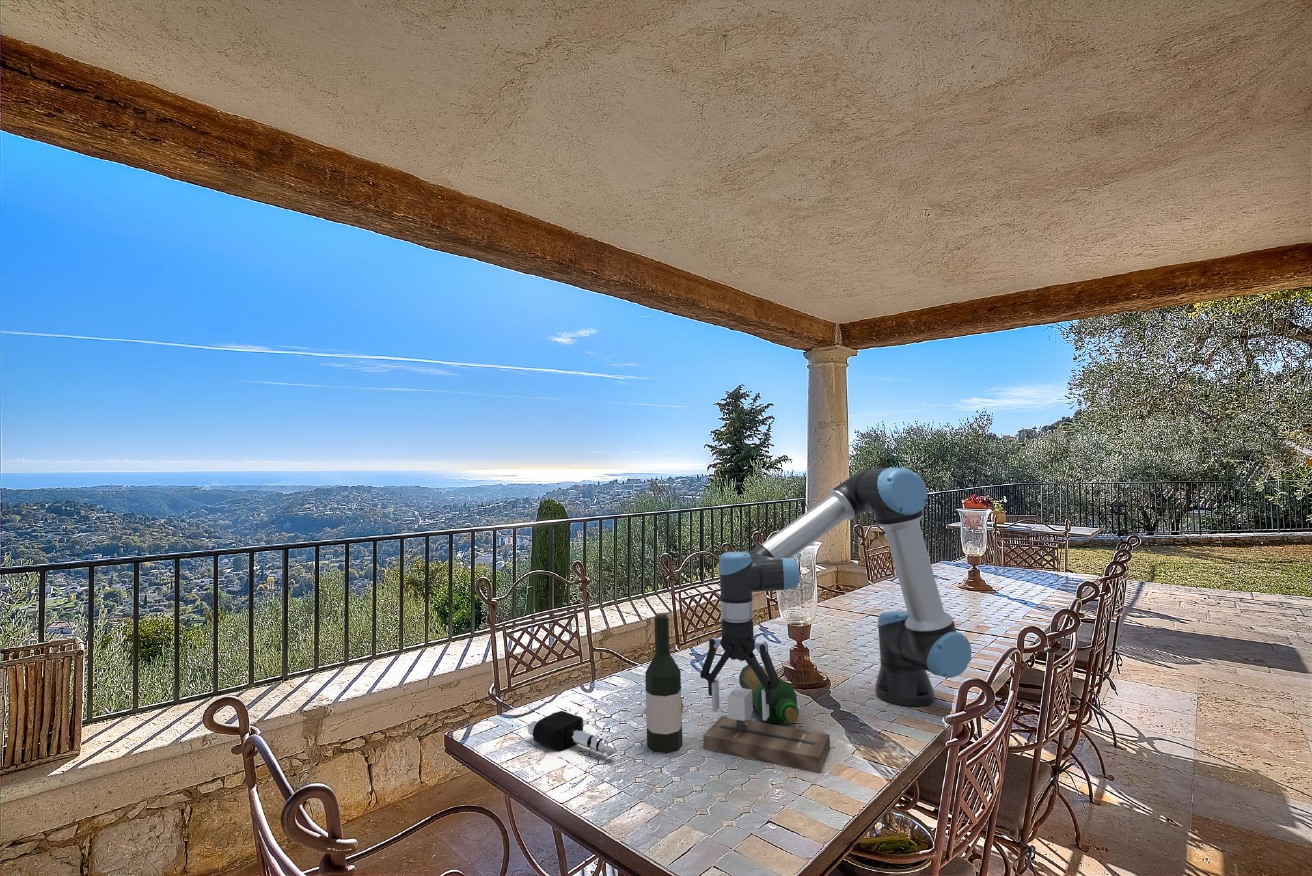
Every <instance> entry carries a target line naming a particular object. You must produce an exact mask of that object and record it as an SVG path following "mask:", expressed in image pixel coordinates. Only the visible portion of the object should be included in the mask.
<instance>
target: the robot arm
mask: <svg viewBox="0 0 1312 876" xmlns="http://www.w3.org/2000/svg"><path fill="white" fill-rule="evenodd" d="M927 500H928V489H927V486H926V484H925V482H924V480H923V479H922V478H921V477H920V475H919V474H918V473H916V472H914V471H913V470H911V469H908V468H903V467H901V468H900V467H884V468H875V469H874V468H873V469H871V468H869V469H864V470H861V471H859V472H857V473H854V474H853V475H851V476H850V477H848V478H847V479H845V480H844V481H842V482H841V483H840V484H838V485H837V486H835V487H834V488H832V489H831V490H830V491H829V492H828V495H827V497H826V498H824V499H823V500H822V501H820V502H819V503H817V504H816V505H815V506H813V507H812V508H810V509H809V510H808V511H806V512H805V513H804V514H802V515H801V516H799V517H798V518H796V519H795V520H793V521H792V522H791V523H789V524H788V525H786V526H785V527H783V528H782V529H780V530H779V531H778V532H776V533H775V534H773V535H772V536H770V538H767V540H765V541H763V542H762V543H761V544H759V545H758V546H756V547H754V548H753V549H752V550H750V551H749V550H748V551H728V552H724V553H722V554H721V555H720V557H719V564H718V565H719V569H718V570H719V571H718V575H719V586H720V589H719V591H720V617H721V619H722V620H721V627H720V628H721V638H717V636H713V637H712V638H710V639H709V641H708V651H707V654H706V658H705V659H704V662H703V666H702V669H701V672H700V675H699V677H700V679H704V680H706V681H707V690H708V691H707V692H708V695H709V696H711V702H712V703H711V704H712V706H711V707H712V713H713V712H714V713H716V712H717V711H718V710H719V709H720V680H719V679H716V678H717V676H718V675H719V673H720V672H721V670H722V669H723V668H724V666H725V665H726V663H727V661H728V660H729V659H730V660H733V661H735V660H738V661H741V662H744V661H745V662H746V664H747V665H748V664H749V665H750V667H751V668H752V670H753V671H754V673H755V674H756V676H757V677H758V679H759V681H760V682H761V684H762V685H763V687H764V688H763V689H762V714H763V717H762V721H768V720H767V719H768V717H769V705H771V703H772V701H773V694H772V689H777V687H778V686H779V685H780V681H779V678H780V677H779V676H778V673H777V670H776V668H775V666H774V664H773V661H772V659H771V656H770V653H769V647H768V646H769V644H768V643H767V641H764V642H762V643H761V642H756V641H755V638H754V637H755V635H754V633H755V632H754V631H755V630H754V620H753V619H752V618H753V615H754V614H753V612H754V611H753V607H754V606H753V593H759V592H772V591H773V592H774V591H783V592H785V591H787V590H793V589H795V588H797V587H798V585H799V584H800V581H801V576H800V575H801V573H800V568H799V565H798V563H797V562H796V560H795V559H793V558H794V557H795V556H796V555H798V554H799V553H800V552H802V551H803V550H804V549H806V548H807V547H808V546H810V545H812V544H813V543H814V542H815V541H817V540H819V539H820V538H821V537H823V536H824V535H825V534H827V533H829V532H830V531H831V530H833V529H834V528H835V527H837V526H838V525H840V524H841V523H843V522H844V521H845V520H847V521H851V520H853V519H854V518H856V517H857V516H860V515H862V514H864V513H870V512H872V513H873V516H874V519H875V520H874V521H875V523H876V525H877V526H879V527H881V528H882V529H884V533H885V536H886V539H887V543H888V547H889V550H890V553H891V558H892V561H893V564H894V568H895V571H896V575H897V579H898V583H899V586H900V589H901V590H900V591H901V593H902V597H903V600H904V604H905V608H906V610H895V611H894V610H893V611H892V610H891V611H886V612H885V611H884V612H882V613H879V615H878V618H877V620H878V621H877V629H878V640H879V641H878V642H879V644H878V645H879V658H880V667H879V671H878V673H877V674H878V675H877V677H876V682H875V685H874V686H875V689H874V690H875V696H877V697H878V698H879V699H881V700H883V702H884V701H885V702H887V703H890V704H894V705H897V706H905V707H923V706H928V705H931V704H933V703H934V702H935V691H934V688H933V685H932V683H931V680H930V678H929V675H928V672H929V673H931V674H933V675H935V676H939V677H942V678H947V679H952V678H956V677H958V676H960V675H961V674H963V673H964V672H965V671H966V669H967V668H968V665H969V664H970V662H971V659H972V646H971V643H970V641H969V639H968V638H967V637H966V636H965V635H964V634H962V632H958V631H957V629H956V626H955V621H954V618H953V616H952V615H950V614H949V613H947V612H945V610H944V607H943V602H942V598H941V595H940V591H939V589H938V585H937V581H936V578H935V575H934V571H933V567H932V562H931V560H930V555H929V553H928V549H927V545H926V541H925V539H924V535H923V531H922V528H921V525H920V522H921V520H922V519H923V517H924V511H923V509H924V508H925V506H926V501H927ZM720 646H721V648H722V649H723V653H722V655H721V657H720V658H719V660H718V662H717V663H716V664H715V666H714V668H713V669H712V671H711V667H712V665H713V662H714V659H715V657H716V653H717V651H718V648H719V647H720ZM755 649H756V650H757V653H758V654H759V655H760V659H761V662H762V663H763V666H762V665H761V664H760V662H759V661H758V659H757V657H756V654H755V653H754V651H755ZM761 666H762V667H764V668H765V669H766V672H767V674H768V676H767V675H766V673H765V672H764V670H763V669H762V667H761ZM710 671H711V672H710ZM768 677H769V678H768ZM778 677H779V678H778Z"/></svg>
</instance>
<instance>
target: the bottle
mask: <svg viewBox="0 0 1312 876" xmlns="http://www.w3.org/2000/svg"><path fill="white" fill-rule="evenodd" d="M761 667H762V669H763V670H764V672H765V673H766V675H767V676H768V674H767V672H766V669H765V667H764V666H763V665H761ZM768 678H769V677H768ZM778 678H779V681H780V685H779V686H778V687H777V689H772V694H773V701H772V703H771V705H769V717H768V719H767V720H766V721H768V722H770V723H771V724H782V723H786V724H794V723H795V722H797V721H798V719H799V718H800V711H799V710H800V709H799V708H798V700H797V699H798V697H797V696H798V695H797V693H796V691H795V690H794V688H793V686H792V685H791V684H790V683H789V682H787V681H786V680H784V679H783V678H781V677H780V676H778ZM738 680H739V686H740V688H744V689H751V690H752V701H753V706H754V707H755V708H756V710H757V712H758V713H759V714H760V715H761V717H762V718H763V714H762V689H763V688H764V687H763V685H762V684H761V682H760V681H759V679H758V677H757V676H756V674H755V673H754V671H753V670H752V668H751V667H750V665H749V664H747V665H745V666H744V667H742V669H741V671H740V673H739V676H738Z"/></svg>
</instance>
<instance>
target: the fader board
mask: <svg viewBox="0 0 1312 876" xmlns="http://www.w3.org/2000/svg"><path fill="white" fill-rule="evenodd" d="M745 726H746V729H745V730H744V731H738V730H737V721H736V719H730V718H728V716H726V715H725V716H724V715H721V716H720V717H719V718H718V719H717V721H716V722H714V723H713V725H712V726H711V727H710V728H709V729H708V730H707V731H706V732H705V733H704V734H703V749H704V750H707V751H708V750H709V751H713V752H718V753H722V754H726V755H731V756H737V757H742V758H746V759H750V760H751V759H752V760H758V761H760V762H764V763H765V762H766V763H771V764H775V765H776V764H777V765H781V766H785V767H791V768H796V769H801V770H804V771H810V772H815V773H821V770H822V768H823V765H824V763H825V760H826V759H827V757H828V754H829V752H830V750H831V739H830V738H831V737H830V734H829V733H823V732H817V731H812V730H806V729H801V728H795V727H788V726H782V725H776V724H773V723H771V724H770V723H766V722H765V723H764V722H760V721H759V722H758V721H754V720H748V719H746V720H745Z"/></svg>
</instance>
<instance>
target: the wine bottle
mask: <svg viewBox="0 0 1312 876" xmlns="http://www.w3.org/2000/svg"><path fill="white" fill-rule="evenodd" d="M667 614H668V613H666V612H659V613H658V612H657V613H656V616H655V617H654V618H653V620H654V650H655V651H654V655H653V658H652V660H651V661H650V663H649V665H648V667H647V669H646V671H645V711H646V712H645V713H646V717H645V719H646V747H647V748H648V749H650V750H651V752H653V753H657V754H671V753H675V752H678V751H680V750H681V747H682V745H683V744H684V743H683V719H682V718H683V715H682V712H683V709H682V706H681V698H682V678H681V673H682V672H681V669H680V668H679V665H678V664H677V662H676V661H675V660H674V658H673V657H672V655H671V653H670V651H671V650H670V618H669V616H667Z"/></svg>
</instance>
